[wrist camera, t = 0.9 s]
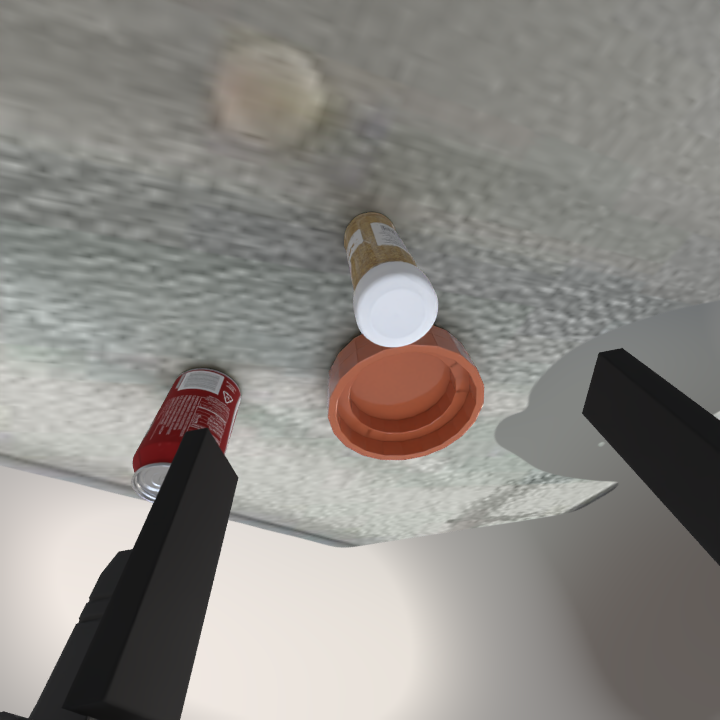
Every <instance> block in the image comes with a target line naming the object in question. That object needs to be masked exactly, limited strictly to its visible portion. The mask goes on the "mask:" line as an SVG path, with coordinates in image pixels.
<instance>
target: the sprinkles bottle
mask: <svg viewBox="0 0 720 720" xmlns="http://www.w3.org/2000/svg"><path fill="white" fill-rule="evenodd" d="M344 247H345V249H346V252H347V258H348V264H349V268H350V274H351V280H352V284H353V287H354V296H353V307H354V313H355V318H356V322H357V325H358V327H359V329H360V331H361V332H362V334H363V335H364V336H365V337H366V338H367V339H369V340H370V341H371V342H373V343H375V344H378V345H380V346H384V347H401V346H405V345H409V344H411V343H413V342H415V341H417V340H419V339H420V338H421V337H423V336H424V335H425V334H426V333H427V332H428V331H429V330H430V328H431V327H432V325H433V323H434V322H435V319H436V317H437V313H438V299H437V295H436V293H435V290H434V288H433V286H432V284H431V283H430V281H429V279H428V278H427V276H426V275H425V274H424V273H423V272H422V271H421V270H420V269H419V268H417V266H416V263H415V261H414V259H413V257H412V256H411V254H410V253H409V251H408V249H407V248H406V246H405V244H404V243H403V241H402V240H401V238H400V236H399V235H398V233H397V232H396V230H395V227H394V226H393V224H392V222H391V221H390V220H389V219H388V218H387V217H386V216H384V215H382V214H379V213H374V212H368V213H364V214H360V215H358V216H357V217H355V218H354V219H353V220H352V221H351V223H350V224H349V225H348V227H347V229H346V231H345V235H344Z"/></svg>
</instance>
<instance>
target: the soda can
mask: <svg viewBox="0 0 720 720" xmlns="http://www.w3.org/2000/svg"><path fill="white" fill-rule="evenodd" d="M240 401H241V392H240V389H239V387H238V385H237V384H236V383H235V382H234V381H233V380H232V379H231V378H230V377H229V376H227V375H226V374H224V373H222V372H219V371H216V370H213V369H207V368H197V369H191V370H188V371H186V372H184V373H182V374H181V375H180V376H179V377H178V378H177V379H176V381H175V382H174V384H173V386H172V388H171V390H170V391H169V393H168V395H167V397H166V399H165V401H164V402H163V404H162V406H161V408H160V410H159V411H158V413H157V415H156V417H155V419H154V420H153V422H152V424H151V426H150V428H149V430H148V431H147V433H146V435H145V437H144V439H143V440H142V442H141V444H140V446H139V448H138V449H137V451H136V453H135V455H134V457H133V468H134V472H135V474H134V475H133V477H132V481H131V484H132V487H133V489H134V491H135V492H136V493H137V494H138V495H139V496H140V497H142V498H143V499H145V500H147V501H149V502H152V503H154V501H155V499H156V496H157V494H158V492H159V490H160V487H161V485H162V483H163V481H164V478H165V476H166V474H167V472H168V470H169V467H170V465H171V463H172V461H173V458H174V456H175V454H176V452H177V450H178V447H179V445H180V443H181V441H182V438H183V436H184V434H185V432H186V431H192V430H197V429H202V428H207V427H208V429H209V430H210V432H211V434H212V435H213V437H214V439H215V440H216V442H217V444H218V445H219V447H220V448H221V450H222V452H223V453H224V455H225V453H226V450H227V446H228V443H229V439H230V436H231V432H232V429H233V425H234V422H235V418H236V415H237V411H238V408H239V404H240Z"/></svg>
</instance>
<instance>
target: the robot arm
mask: <svg viewBox="0 0 720 720" xmlns="http://www.w3.org/2000/svg"><path fill="white" fill-rule="evenodd" d="M582 414H583V415H584V416H585V417H586V418H587V419H588V420H589V422H590V423H591V424H592V425H593V426H594V427H595V428H596V429H597V430H598V432H599V433H600V434H601V435H602V436H603V437H604V438H605V439H606V440H607V441H608V443H609V444H610V445H611V446H612V447H613V448H614V449H615V450H616V451H617V453H618V454H619V455H620V456H621V457H622V458H623V459H624V460H625V461H626V463H627V464H628V465H629V466H630V467H631V468H632V469H633V470H634V471H635V472H636V474H637V475H638V476H639V477H640V478H641V479H642V480H643V481H644V482H645V483H646V485H647V486H648V487H649V488H650V489H651V490H652V491H653V492H654V494H655V495H656V496H657V497H658V498H659V499H660V500H661V501H662V502H663V504H664V505H665V506H666V507H667V508H668V509H669V510H670V511H671V512H672V514H673V515H674V516H675V517H676V518H677V519H678V520H679V521H680V522H681V523H682V525H683V526H684V527H685V528H686V529H687V530H688V531H689V532H690V533H691V535H692V536H693V537H694V538H695V539H696V540H697V541H698V542H699V543H700V545H701V546H702V547H703V548H704V549H705V550H706V551H707V552H708V553H709V555H710V556H711V557H712V558H713V559H714V560H715V561H716V562H717V563H718V564H719V566H720V420H718V419H717V418H716V417H714V416H713V415H712V414H710V413H709V412H708V411H706V410H705V409H704V408H702V407H701V406H700V405H698V404H697V403H696V402H694V401H693V400H691V399H690V398H689V397H687V396H686V395H685V394H683V393H682V392H681V391H679V390H678V389H677V388H675V387H674V386H673V385H671V384H670V383H669V382H667V381H666V380H665V379H663V378H662V377H661V376H659V375H658V374H656V373H655V372H654V371H652V370H651V369H650V368H648V367H647V366H646V365H644V364H643V363H641V362H640V361H639V360H638V359H636V358H635V357H633V356H632V355H631V354H630V353H628V352H627V351H625V350H624V349H623V348H621V349H615V350H610V351H605V352H600V353H599V354H598V358H597V362H596V365H595V368H594V372H593V376H592V380H591V383H590V387H589V390H588V394H587V397H586V401H585V405H584V408H583V412H582ZM237 481H238V476H237V475H236V473H235V471H234V470H233V468H232V467H231V465H230V463H229V462H228V460H227V458H226V457H225V455H224V453H223V452H222V450H221V448H220V447H219V445H218V444H217V442H216V440H215V439H214V437H213V435H212V434H211V432H210V430H209V429H208V427H207V428H202V429H197V430H192V431H186V432H185V434H184V436H183V438H182V441H181V443H180V445H179V447H178V450H177V452H176V454H175V456H174V458H173V461H172V463H171V465H170V467H169V470H168V472H167V474H166V476H165V478H164V481H163V483H162V485H161V487H160V490H159V492H158V494H157V496H156V499H155V501H154V503H153V505H152V508H151V510H150V512H149V514H148V516H147V519H146V521H145V523H144V525H143V528H142V530H141V532H140V534H139V537H138V539H137V541H136V543H135V545H134V548H133V549H131V550H125V551H120V552H118V553H117V555H116V556H115V557H114V558H113V559H112V561H111V562H110V563H109V565H108V566H107V567H106V568H105V569H104V571H103V572H102V573H101V575H100V577H99V579H98V581H97V583H96V585H95V587H94V589H93V591H92V593H91V595H90V597H89V599H90V600H89V602H88V603H86V605H85V607H84V609H83V611H82V613H81V615H80V617H79V623H78V624H76V626H75V628H74V629H73V631H72V634H71V635H70V637H69V639H68V641H67V644H66V646H65V648H64V650H63V652H62V654H61V656H60V658H59V660H58V662H57V664H56V666H55V668H54V670H53V672H52V674H51V676H50V678H49V680H48V682H47V684H46V686H45V688H44V690H43V692H42V694H41V696H40V698H39V700H38V702H37V704H36V706H35V708H34V709H33V711H32V713H31V715H30V717H29V718H25V717H21V716H18V715H14V714H11V713H7V712H0V720H180V718H181V713H182V710H183V705H184V701H185V697H186V693H187V689H188V685H189V680H190V676H191V672H192V668H193V664H194V660H195V656H196V651H197V647H198V643H199V639H200V635H201V631H202V626H203V622H204V618H205V614H206V610H207V606H208V601H209V597H210V593H211V589H212V585H213V581H214V576H215V572H216V568H217V564H218V560H219V556H220V552H221V547H222V543H223V539H224V535H225V531H226V527H227V523H228V518H229V514H230V510H231V506H232V502H233V498H234V493H235V489H236V485H237Z"/></svg>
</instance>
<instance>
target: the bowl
mask: <svg viewBox="0 0 720 720" xmlns="http://www.w3.org/2000/svg"><path fill="white" fill-rule="evenodd" d="M483 403H484V384H483V381H482V379H481V377H480V375H479V372H478V370H477V368H476V366H475V365H474V363H473V361H472V360H471V358H470V356H469V355H468V353H467V351H466V350H465V348H464V346H463V345H462V343H461V342H459V341H458V340H457V339H456V338H455V337H454V336H453V335H452V334H451V333H449V332H448V331H446V330H444V329H441V328H439V327H436V326H434V325H432V327H431V328H430V330H429V331H428V332H427V333H426V334H425V335H424V336H423V337H421V338H420V339H419V340H417V341H415V342H413V343H411V344H409V345H405V346H401V347H384V346H380V345H378V344H375V343H373V342H371V341H370V340H369V339H367V338H366V337H365V336H364V335H363V334H361V335H359V336H357V337H356V338H354V339H353V340H352V341H351V342H350V343H349V344H348V345H347V346H346V347H345V348H344V349H342V350H341V351H340V352H339V354H338V355H337V357H336V359H335V361H334V363H333V365H332V367H331V369H330V371H329V378H328V419H329V421H330V424H331V427H332V430H333V433H334V434H335V435H336V436H337V437H338V438H339V439H340V441H341V442H342V443H343V444H344V445H345V446H346V447H348V448H350V449H352V450H354V451H356V452H357V453H359V454H361V455H363V456H367V457H372V458H376V459H380V460H407V459H412V458H417V457H422V456H426V455H429V454H431V453H434V452H436V451H438V450H441V449H443V448H445V447H447V446H448V445H450V444H451V443H453V442H454V441H456V440H457V439H459V438H460V437H461V436H463V435H464V434H465V433H466V431H467V430H468V429H469V428H470V427H471V426H472V425H473V423H474V422H475V421H476V419H477V417H478V415H479V413H480V410H481V408H482V406H483Z"/></svg>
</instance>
